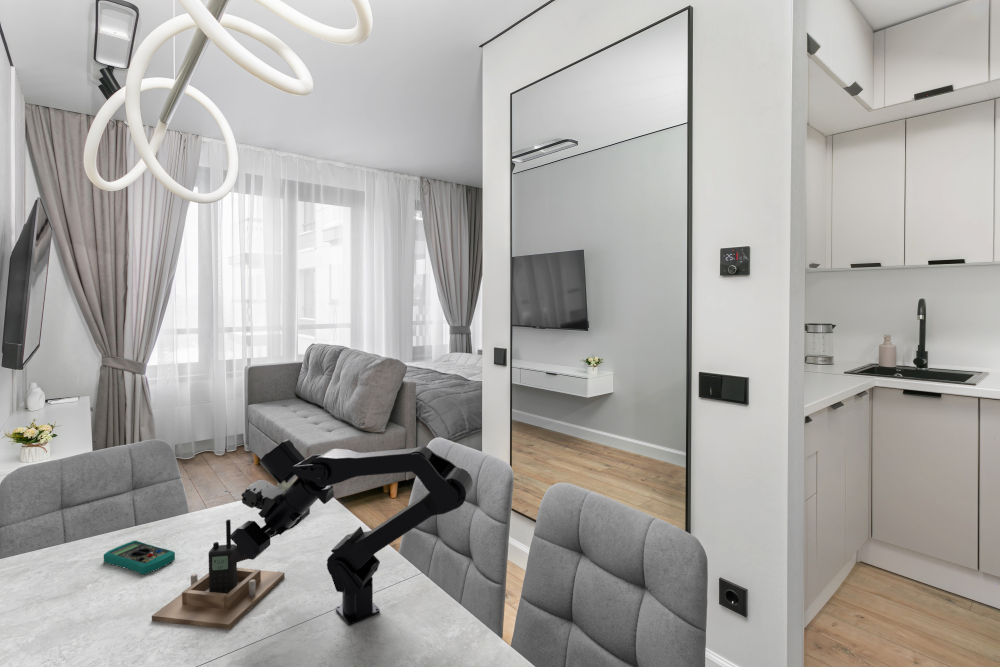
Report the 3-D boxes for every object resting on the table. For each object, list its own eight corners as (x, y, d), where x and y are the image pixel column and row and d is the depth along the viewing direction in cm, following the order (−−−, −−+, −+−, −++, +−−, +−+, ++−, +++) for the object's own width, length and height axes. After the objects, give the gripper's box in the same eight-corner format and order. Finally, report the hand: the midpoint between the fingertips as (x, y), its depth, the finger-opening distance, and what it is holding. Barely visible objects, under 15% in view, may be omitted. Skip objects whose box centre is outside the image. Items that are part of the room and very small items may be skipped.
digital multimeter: (145, 577, 109) (145, 564, 109) (102, 564, 115) (101, 551, 115) (177, 562, 116) (177, 549, 116) (135, 549, 122) (135, 538, 121)
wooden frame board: (284, 577, 109) (284, 559, 109) (228, 629, 92) (228, 608, 91) (218, 570, 112) (218, 553, 111) (151, 620, 94) (151, 600, 94)
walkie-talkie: (208, 597, 100) (206, 524, 99) (214, 588, 103) (213, 517, 102) (234, 595, 100) (232, 522, 100) (239, 585, 104) (238, 515, 103)
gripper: (295, 455, 108) (250, 502, 110) (238, 486, 89) (185, 541, 92) (330, 493, 107) (284, 539, 109) (280, 532, 89) (225, 586, 91)
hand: (247, 549), depth 100 cm, fingers open, 9 cm apart
